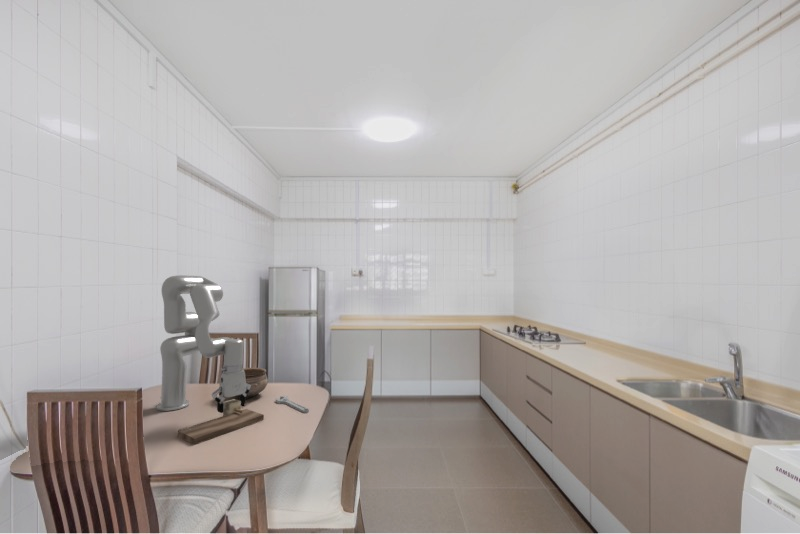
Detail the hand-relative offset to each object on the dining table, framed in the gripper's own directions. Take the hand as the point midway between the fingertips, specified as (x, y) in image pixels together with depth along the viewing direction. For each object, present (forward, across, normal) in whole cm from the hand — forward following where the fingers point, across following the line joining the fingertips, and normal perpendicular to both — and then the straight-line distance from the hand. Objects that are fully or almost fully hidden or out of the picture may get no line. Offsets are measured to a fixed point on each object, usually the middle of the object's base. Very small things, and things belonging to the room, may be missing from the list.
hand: (231, 408), depth 153 cm
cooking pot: (+3, +19, +18) cm, 26 cm away
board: (+3, -9, -9) cm, 13 cm away
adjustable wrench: (+3, +23, -11) cm, 25 cm away
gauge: (+3, 0, -3) cm, 4 cm away
